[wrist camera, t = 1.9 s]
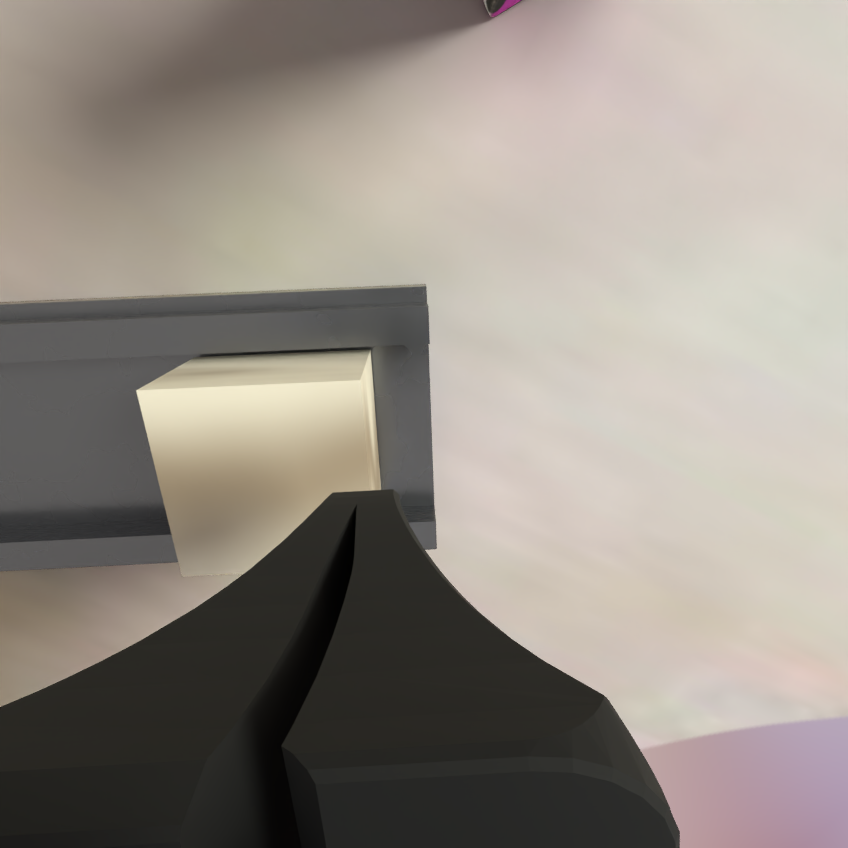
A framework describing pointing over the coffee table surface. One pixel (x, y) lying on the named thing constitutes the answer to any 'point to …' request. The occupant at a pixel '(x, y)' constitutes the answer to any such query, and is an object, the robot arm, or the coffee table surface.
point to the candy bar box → (498, 6)
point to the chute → (152, 358)
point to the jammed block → (257, 448)
